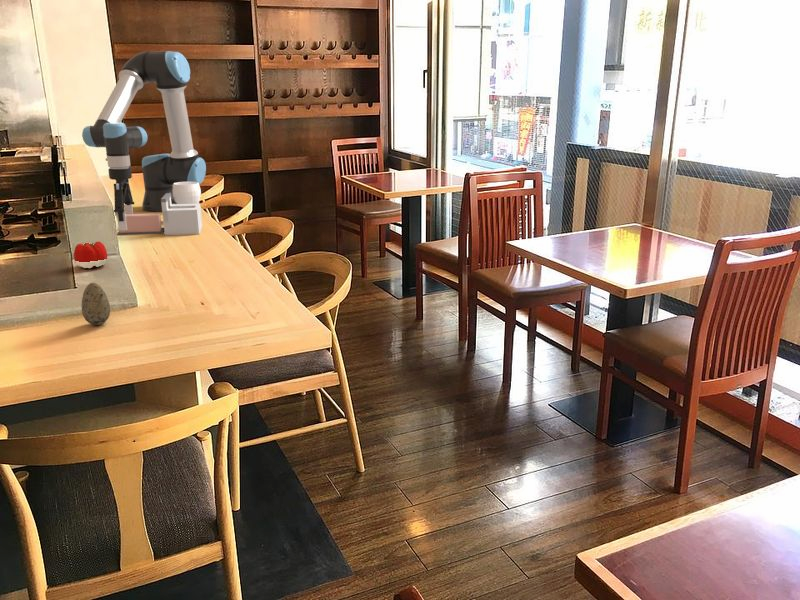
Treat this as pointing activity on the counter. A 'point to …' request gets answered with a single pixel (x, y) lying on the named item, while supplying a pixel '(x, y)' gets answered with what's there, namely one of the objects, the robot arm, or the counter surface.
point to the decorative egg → (95, 305)
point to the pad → (142, 232)
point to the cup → (186, 192)
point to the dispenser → (180, 217)
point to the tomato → (90, 252)
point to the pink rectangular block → (142, 223)
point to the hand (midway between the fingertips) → (126, 226)
